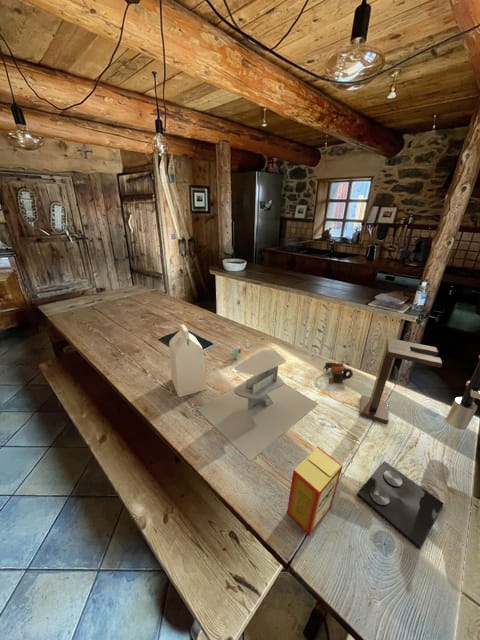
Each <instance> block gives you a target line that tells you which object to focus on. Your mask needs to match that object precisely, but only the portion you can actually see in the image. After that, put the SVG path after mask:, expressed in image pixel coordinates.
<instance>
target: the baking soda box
mask: <svg viewBox="0 0 480 640" xmlns="http://www.w3.org/2000/svg"><path fill="white" fill-rule="evenodd" d="M342 469H343V464H341V462H339V461H338V460H336V459H335V458H334V457H332V456H331V455H330V454H329V453H327V452H326V451H325V450H323V449H322V448H320V447H319V446H317V447H315V449H313V450H312V451H311V453H309V455H308V456H307V457H305V459H304V460H302V462H300V463H299V464H298V465H297V466H296V467H295V468H294V469H293V471H292V476H291V483H290V490H289V497H288V503H287V509H286V513H287V514H288V515H289V516H290V517H291V518H292V520H293V521H294V522H296V524H297V525H298V526H299V527H300V528H301V529H302V530H303V531H304V532H305V533H306V534H307V535H308V536H310V535H311V534H312V532H314V530H315V529H316V528H317V526H318V525H319V523H320V522H321V521H322V519H323V518H324V517H325V516H326V515H327V513H328V512H329V511H330V509H331V508H332V506H333V501H334V498H335V494H336V492H337V488H338V483H339V480H340V477H341V472H342Z"/></svg>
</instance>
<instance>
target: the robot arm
mask: <svg viewBox="0 0 480 640" xmlns="http://www.w3.org/2000/svg"><path fill="white" fill-rule="evenodd" d="M469 382H470V380H467V381H466V383H465V387H467V386H468V384H469ZM470 395H471V397H474V398H475V399H478V400H480V390H475V389H471V391H470Z"/></svg>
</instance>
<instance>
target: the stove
mask: <svg viewBox="0 0 480 640" xmlns="http://www.w3.org/2000/svg"><path fill="white" fill-rule="evenodd" d="M356 497H358V498H359V500H361V501H362V502H363V503H365V504H366V505H367V506H368V507H369V508H370V509H372V510H373V511H374V512H375V513H376V514H377V515H379V517H381V518H382V519H383V520H384V521H385V522H386V523H388V524H389V525H390V526H391V527H392V528H393V529H395V530H396V531H397V532H398V533H399V534H400V535H402V537H404V538H405V539H406V540H407V541H409V542H410V543H411V544H412V545H413V546H414V547H416V548H417V549H418V550H421V548H422V546H423V544H424V542H425V541H426V539H427V536H428V534H429V533H430V531H431V529H432V527H433V525H434V523H435V521H436V519H437V517H438V516H439V514H440V512H441V510H442V508H443V506H444V502H443V501H441V500H440V499H439V498H437V497H436V496H434V495H433V494H431V493H430V492H429V491H428V490H426V489H424V488H423V487H422V486H420V485H419V484H417V483H416V482H415V481H413V480H412V479H410V478H409V477H408V476H406V475H405V474H403V473H402V472H401V471H399V470H398V469H396V468H395V467H394V466H392V465H391V464H389V463H388V462H386V461H385V460H384V461H382V463H381V464H380V465H379V466H378V467H377V469H376V470H375V471H374V473H372V474H371V476H370V477H369V478H368V480H367V481H366V482H365V483H364V484H363V486H362V487H361V488H360V489H359V490H358V492H357V493H356Z"/></svg>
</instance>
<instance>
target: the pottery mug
mask: <svg viewBox="0 0 480 640" xmlns="http://www.w3.org/2000/svg"><path fill="white" fill-rule="evenodd" d="M329 369H330V372H331V374H332V377H328V383H330V384H336V385H341V384H343V383H344V381H346V380H350V379H351V378H353V376H354V373H353V370H352V369H350V368H346V367H345V366H344V363H343V362H338V363H336V362H325V365H324V366H323V368H322V370H325V371H329ZM347 373H348V375H347Z"/></svg>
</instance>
